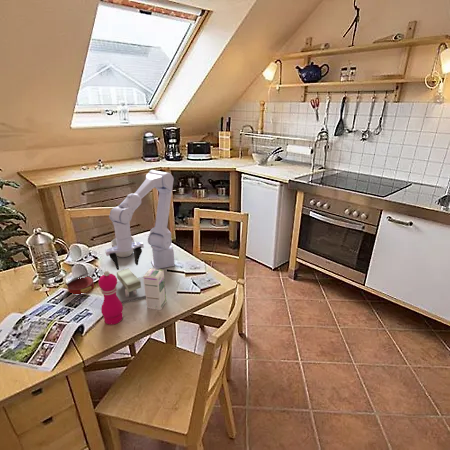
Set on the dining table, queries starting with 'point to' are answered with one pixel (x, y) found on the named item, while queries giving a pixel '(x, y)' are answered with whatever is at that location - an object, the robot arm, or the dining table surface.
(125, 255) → the teacup
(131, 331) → the dining table surface
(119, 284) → the peg stand
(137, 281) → the pale green block
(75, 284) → the canned food
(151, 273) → the syrup box
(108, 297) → the pepper mill
